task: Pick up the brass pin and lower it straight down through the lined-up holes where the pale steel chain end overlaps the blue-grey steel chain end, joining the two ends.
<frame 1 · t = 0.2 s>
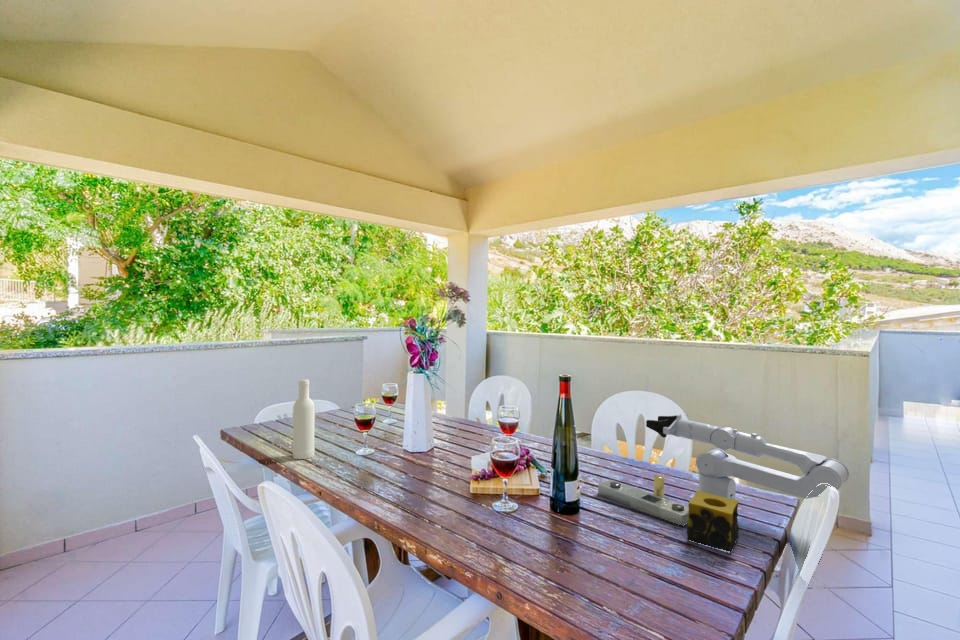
hand: (652, 421, 147), 21 cm above the table, tool horizontal, fingers open, 7 cm apart
pin: (658, 499, 134), on the table
bottle: (303, 457, 171), on the table
chain ends: (651, 508, 128), on the table
candle: (712, 540, 111), on the table
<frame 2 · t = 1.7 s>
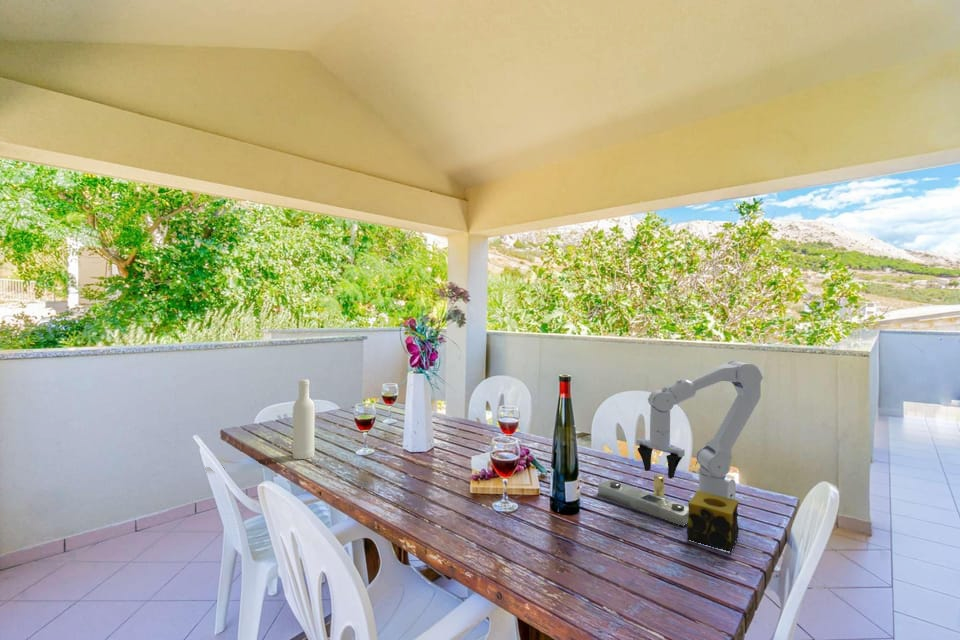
hand: (659, 473, 134), 8 cm above the table, tool pointing down, fingers open, 7 cm apart
nothing on the table moved.
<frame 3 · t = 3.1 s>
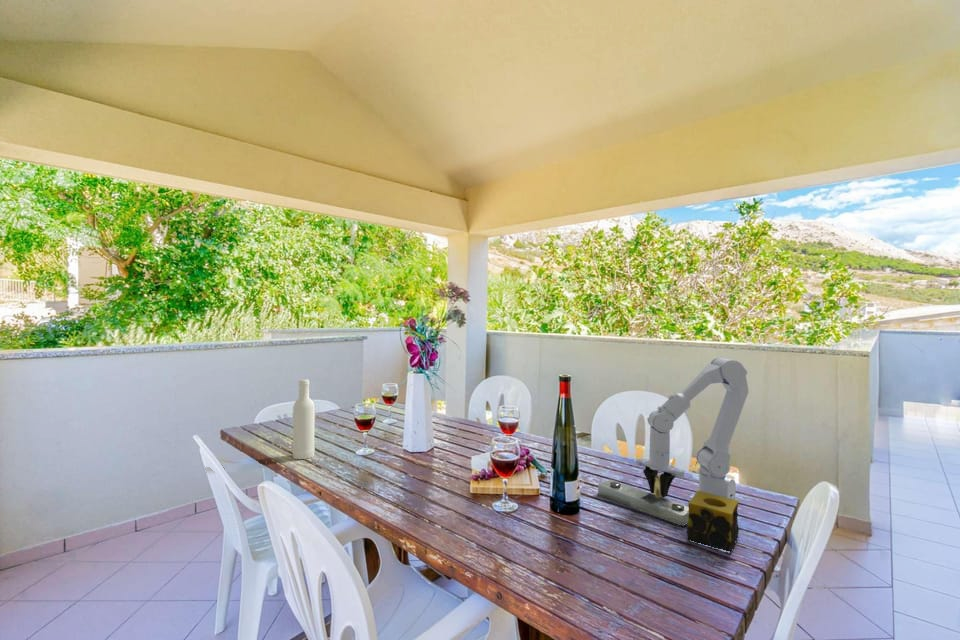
hand: (658, 494, 134), 2 cm above the table, tool pointing down, fingers closed on pin, 3 cm apart
pin: (658, 499, 134), on the table, touching gripper
everything else where it was.
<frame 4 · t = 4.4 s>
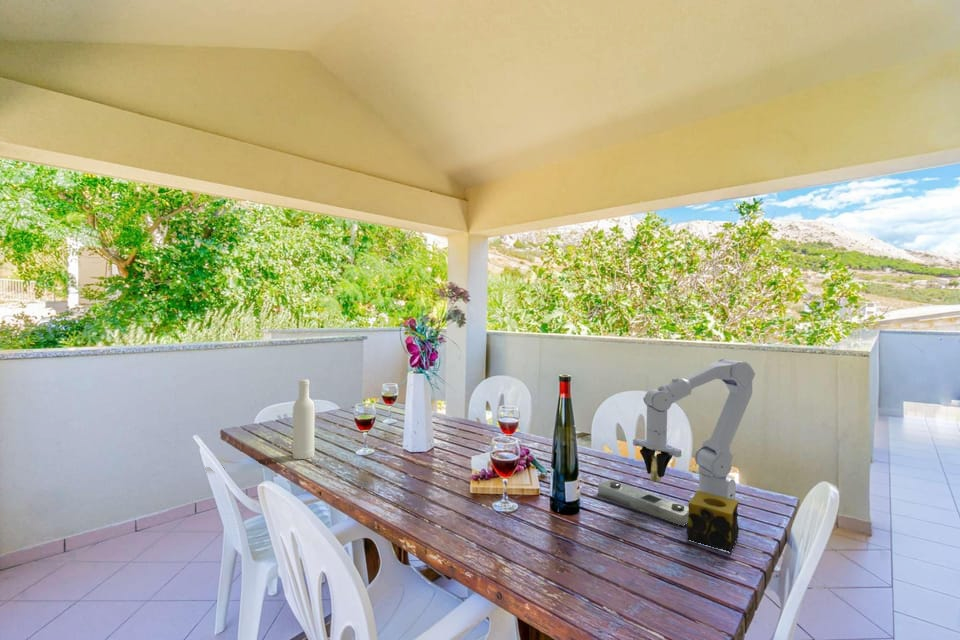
hand: (655, 474, 132), 9 cm above the table, tool pointing down, fingers closed on pin, 3 cm apart
pin: (655, 480, 132), point 7 cm above the table, touching gripper
everything else where it was.
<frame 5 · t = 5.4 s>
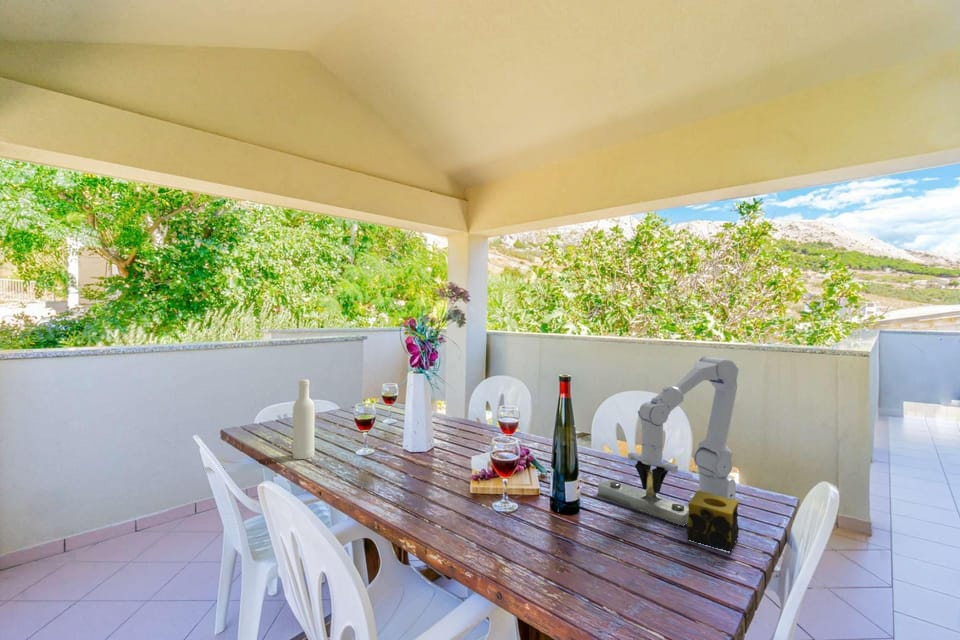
hand: (651, 490, 128), 5 cm above the table, tool pointing down, fingers closed on pin, 3 cm apart
pin: (651, 495, 128), point 4 cm above the table, touching gripper
everything else where it was.
when the fingers open (4 cm above the table, at t = 6.0 s): pin drops 2 cm, resting in chain ends.
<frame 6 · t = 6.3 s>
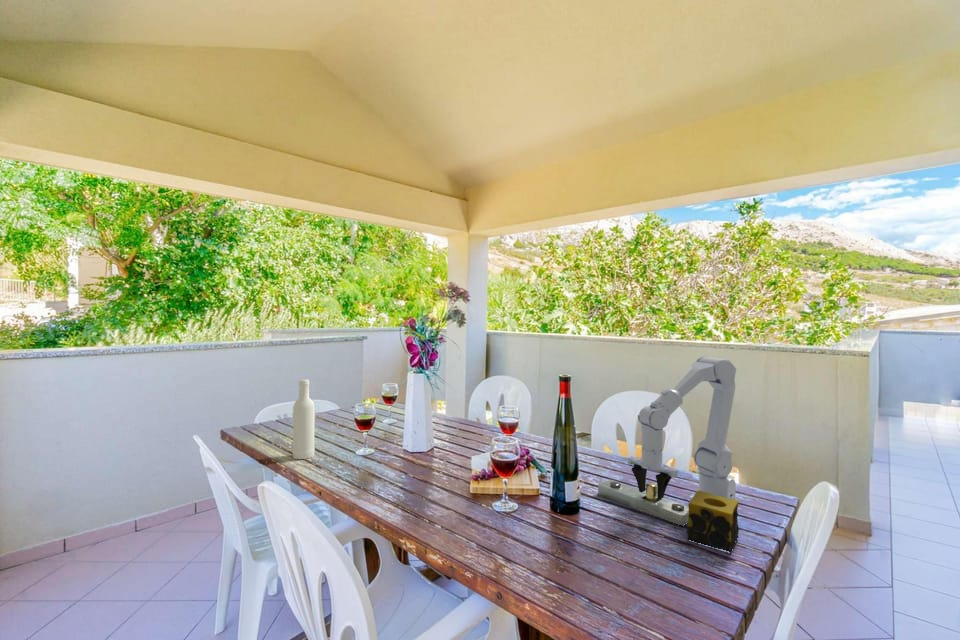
hand: (651, 494, 128), 4 cm above the table, tool pointing down, fingers open, 5 cm apart
pin: (651, 508, 128), resting in chain ends
everything else where it was.
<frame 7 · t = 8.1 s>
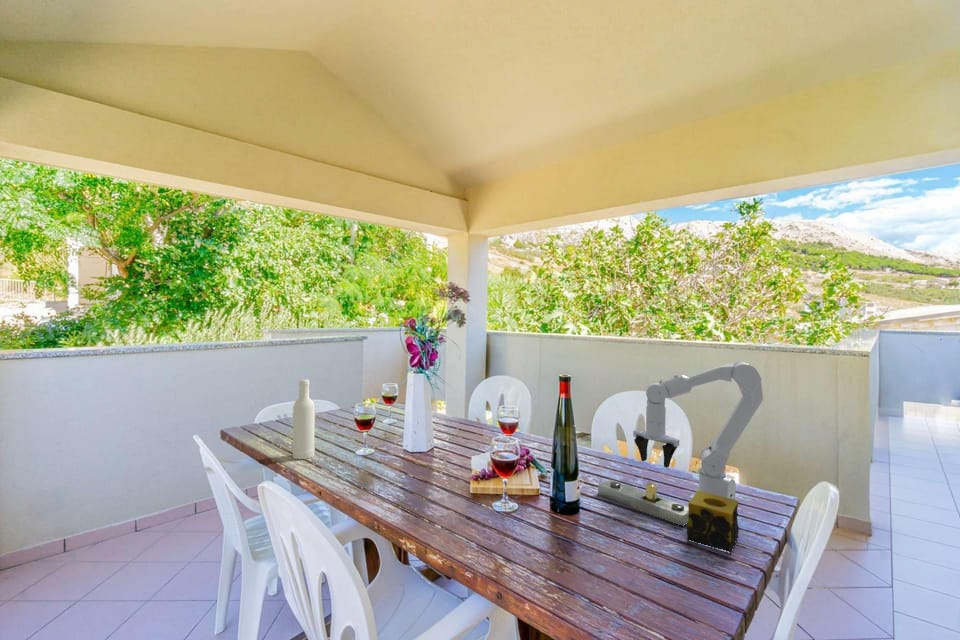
hand: (655, 463, 140), 9 cm above the table, tool pointing down, fingers open, 7 cm apart
nothing on the table moved.
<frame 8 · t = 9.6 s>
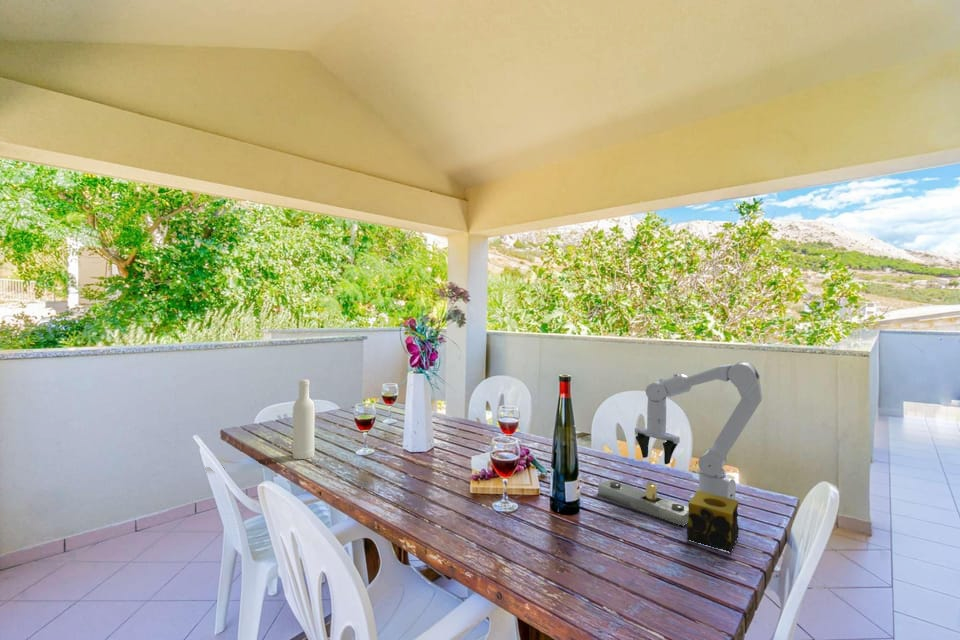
hand: (655, 460, 143), 9 cm above the table, tool pointing down, fingers open, 7 cm apart
nothing on the table moved.
at the end: pin 0.1 cm from the chain ends (horizontally); pin resting in chain ends; pin tilted 0° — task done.
